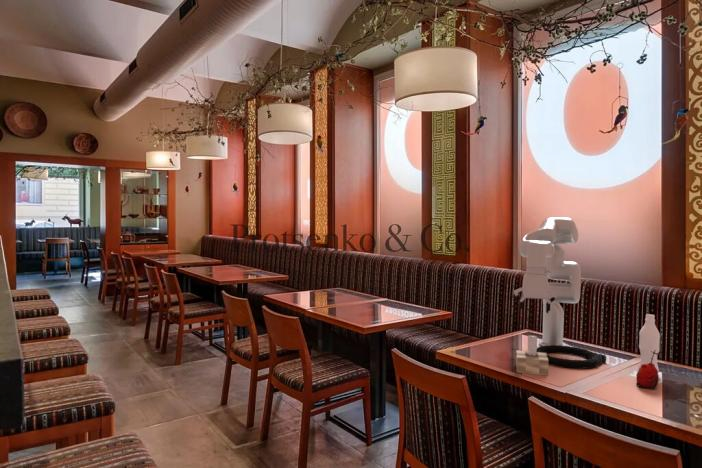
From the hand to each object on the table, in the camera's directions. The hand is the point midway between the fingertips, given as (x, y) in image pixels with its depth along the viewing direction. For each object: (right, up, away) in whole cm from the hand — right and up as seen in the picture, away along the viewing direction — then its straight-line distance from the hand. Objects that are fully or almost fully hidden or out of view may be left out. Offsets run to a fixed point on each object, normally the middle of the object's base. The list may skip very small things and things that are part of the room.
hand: (534, 311), depth 201 cm
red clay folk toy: (+36, -26, -19) cm, 48 cm away
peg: (-1, -24, 0) cm, 24 cm away
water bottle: (+44, -25, -6) cm, 51 cm away
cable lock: (+21, -25, +15) cm, 36 cm away
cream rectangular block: (-1, -24, 0) cm, 24 cm away
